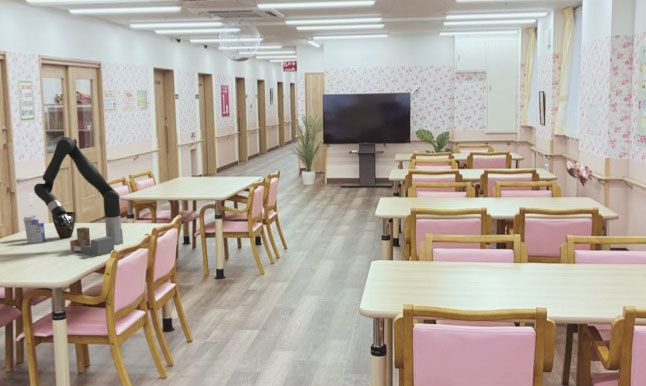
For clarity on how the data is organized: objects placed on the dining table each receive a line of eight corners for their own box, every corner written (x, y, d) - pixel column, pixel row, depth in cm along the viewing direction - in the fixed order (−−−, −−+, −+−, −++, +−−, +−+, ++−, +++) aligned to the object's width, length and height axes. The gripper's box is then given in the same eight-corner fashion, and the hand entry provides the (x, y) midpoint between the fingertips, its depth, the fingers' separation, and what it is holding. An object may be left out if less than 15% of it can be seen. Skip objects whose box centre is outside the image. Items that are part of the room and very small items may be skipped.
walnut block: (84, 246, 437) (83, 227, 436) (90, 247, 435) (89, 227, 433) (77, 248, 433) (76, 228, 432) (83, 249, 431) (82, 229, 429)
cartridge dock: (81, 253, 427) (80, 238, 426) (96, 249, 437) (96, 235, 436) (98, 256, 419) (97, 240, 418) (114, 252, 430) (113, 237, 428)
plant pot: (64, 240, 469) (62, 216, 467) (48, 238, 477) (46, 214, 475) (82, 236, 482) (80, 212, 480) (66, 234, 489) (65, 211, 487)
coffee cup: (34, 240, 472) (33, 217, 470) (21, 240, 474) (19, 217, 472) (43, 237, 481) (41, 215, 479) (30, 237, 483) (28, 215, 481)
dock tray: (70, 250, 432) (70, 240, 431) (85, 247, 442) (84, 237, 441) (82, 252, 427) (81, 242, 426) (96, 248, 436) (96, 238, 436)
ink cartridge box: (45, 241, 468) (44, 219, 466) (42, 243, 463) (40, 220, 461) (30, 241, 468) (28, 219, 466) (27, 243, 463) (25, 220, 461)
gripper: (50, 206, 435) (64, 228, 431) (68, 203, 446) (82, 225, 442) (44, 214, 439) (59, 236, 434) (62, 211, 450) (77, 232, 445)
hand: (71, 230), depth 438 cm, fingers closed
